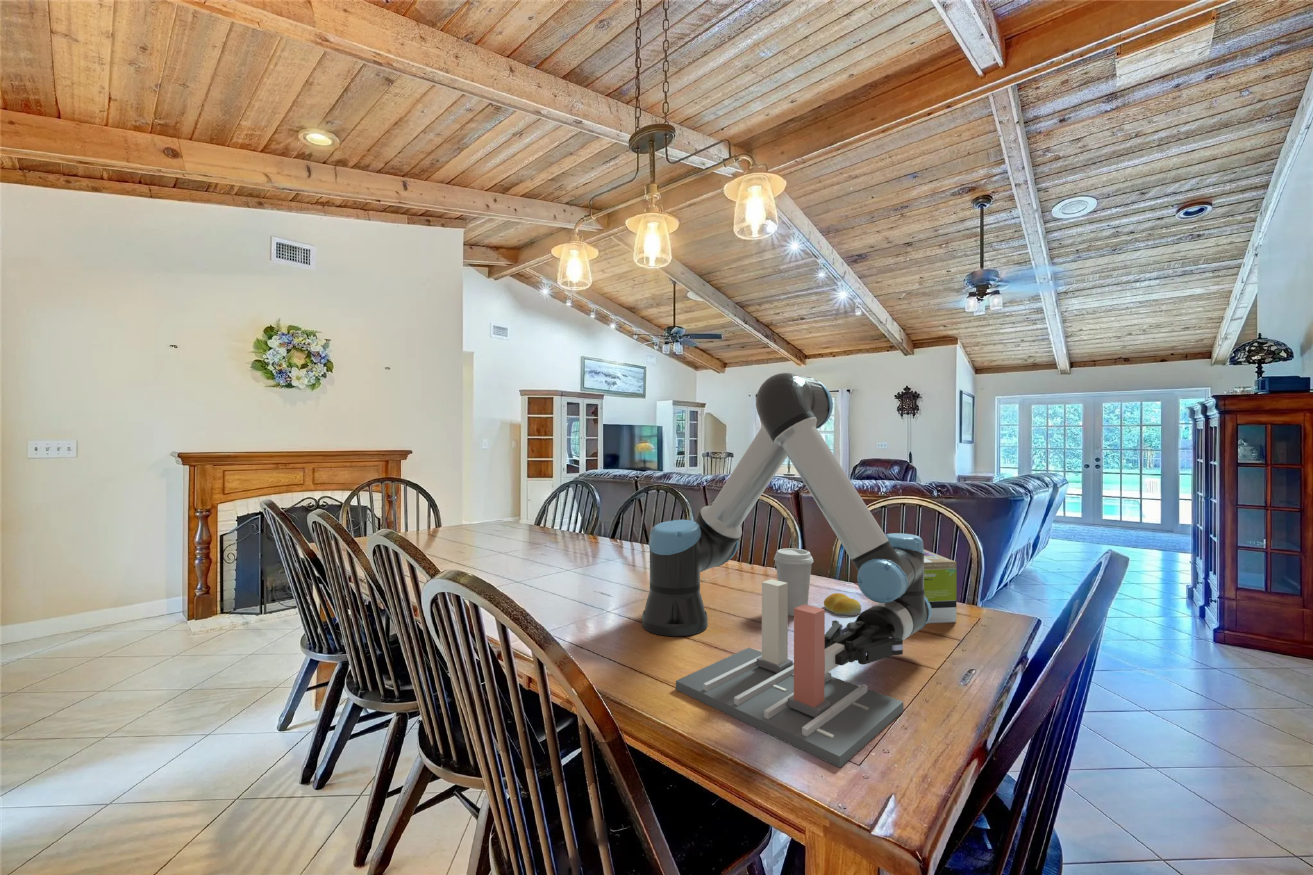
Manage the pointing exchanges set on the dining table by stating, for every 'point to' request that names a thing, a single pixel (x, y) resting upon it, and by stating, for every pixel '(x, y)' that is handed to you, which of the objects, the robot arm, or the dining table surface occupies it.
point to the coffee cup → (794, 575)
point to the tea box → (940, 587)
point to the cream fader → (774, 626)
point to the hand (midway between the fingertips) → (820, 664)
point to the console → (766, 708)
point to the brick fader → (809, 661)
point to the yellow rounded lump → (842, 605)
